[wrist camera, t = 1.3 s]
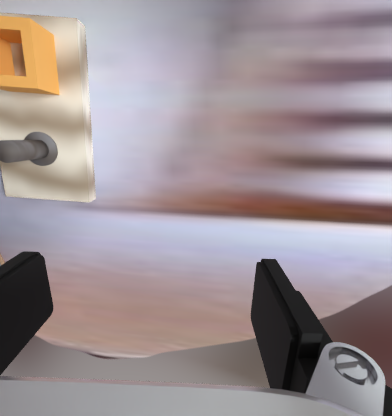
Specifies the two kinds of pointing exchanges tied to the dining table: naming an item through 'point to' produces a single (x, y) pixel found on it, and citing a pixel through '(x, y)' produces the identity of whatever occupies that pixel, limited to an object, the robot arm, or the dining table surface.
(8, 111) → the peg board
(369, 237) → the dining table surface
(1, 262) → the alarm clock
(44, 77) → the orange square frame
